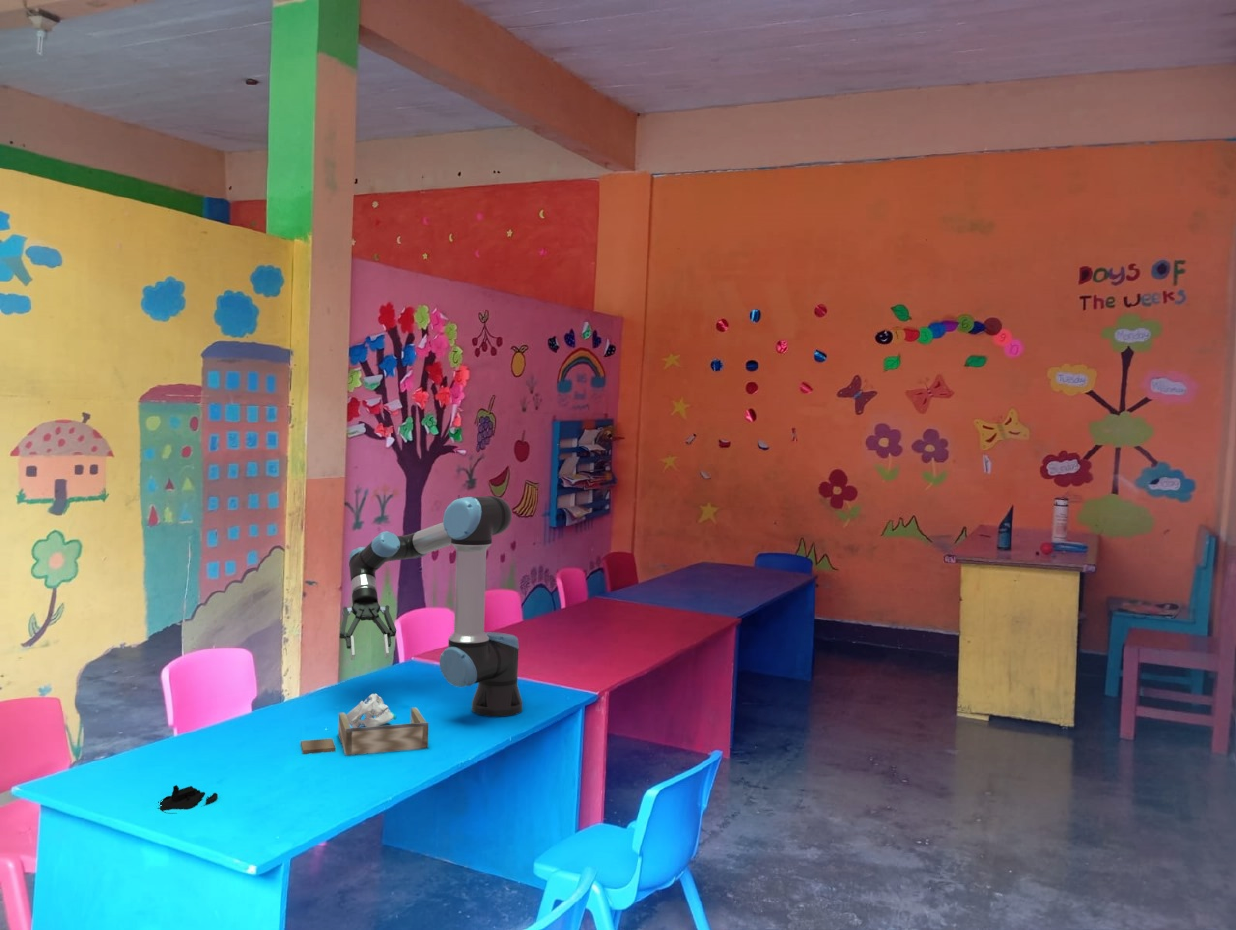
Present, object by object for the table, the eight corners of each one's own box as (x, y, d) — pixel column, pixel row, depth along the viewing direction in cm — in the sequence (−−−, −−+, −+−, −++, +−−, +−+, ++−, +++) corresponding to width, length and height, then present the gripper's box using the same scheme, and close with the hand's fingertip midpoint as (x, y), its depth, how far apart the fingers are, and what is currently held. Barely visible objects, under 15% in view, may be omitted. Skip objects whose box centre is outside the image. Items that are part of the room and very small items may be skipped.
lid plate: (332, 744, 263) (332, 738, 263) (335, 753, 256) (335, 747, 256) (300, 746, 260) (300, 740, 260) (302, 756, 253) (303, 750, 253)
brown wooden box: (415, 728, 277) (416, 704, 277) (427, 748, 261) (428, 722, 260) (338, 734, 269) (339, 710, 269) (345, 755, 253) (346, 729, 253)
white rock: (386, 723, 271) (364, 697, 272) (365, 744, 272) (343, 718, 273) (405, 712, 282) (383, 686, 284) (385, 732, 284) (363, 707, 285)
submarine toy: (174, 819, 211) (174, 796, 211) (146, 808, 216) (146, 786, 216) (222, 802, 221) (223, 780, 221) (195, 792, 226) (195, 771, 226)
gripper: (398, 599, 310) (405, 661, 296) (326, 601, 302) (330, 665, 288) (401, 585, 305) (409, 647, 291) (328, 586, 297) (332, 651, 283)
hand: (370, 656), depth 289 cm, fingers open, 9 cm apart
